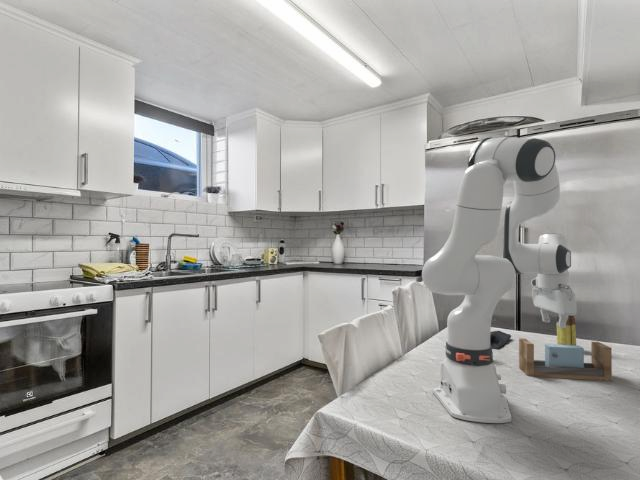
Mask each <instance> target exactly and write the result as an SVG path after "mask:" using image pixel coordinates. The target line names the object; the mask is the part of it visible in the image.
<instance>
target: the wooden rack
mask: <svg viewBox="0 0 640 480" xmlns="http://www.w3.org/2000/svg"><path fill="white" fill-rule="evenodd" d="M590 343H591V349H590V350H591V355H590V358H591V362H584V368H576V367H558V366H545V359H544V360H543V359H542V360H541V359H535V345H534V343H533V342H530V341H529V340H528V339H527V338H521V337H520V338H518V369H520V370H521V371H522V372H523V373H524V374H525V375H526V376H529V377H531V376H532V377H539V378H553V379H554V378H556V379H557V378H559V379H573V380H574V379H575V380H587V381H588V380H589V381H604V382H605V381H612V380H613V378H612V375H613V374H612V371H613V370H612V369H613V368H612V365H613V364H612V363H613V358H612V347H610V346H608V345H606V344H604V343H602V342H600V341H591V342H590Z"/></svg>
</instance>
